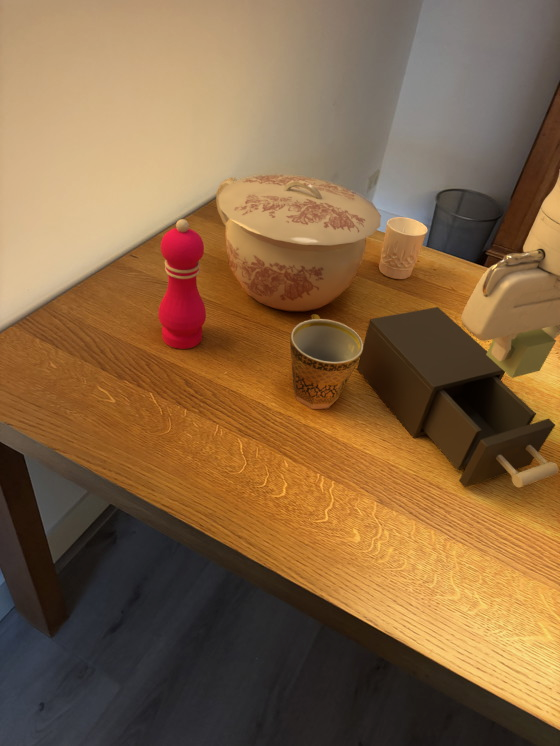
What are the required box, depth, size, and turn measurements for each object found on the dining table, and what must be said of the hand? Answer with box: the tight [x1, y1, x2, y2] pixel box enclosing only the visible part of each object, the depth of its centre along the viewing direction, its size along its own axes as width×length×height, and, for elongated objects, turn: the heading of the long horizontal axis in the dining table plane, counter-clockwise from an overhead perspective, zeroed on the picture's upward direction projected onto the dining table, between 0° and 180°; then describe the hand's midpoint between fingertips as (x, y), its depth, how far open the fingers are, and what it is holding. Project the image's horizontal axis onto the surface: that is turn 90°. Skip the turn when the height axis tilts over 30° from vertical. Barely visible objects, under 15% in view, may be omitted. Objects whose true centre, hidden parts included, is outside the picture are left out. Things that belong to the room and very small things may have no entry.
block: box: [486, 329, 557, 379], centre depth 64 cm, size 4×4×4 cm
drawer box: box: [356, 306, 506, 439], centre depth 80 cm, size 16×13×10 cm
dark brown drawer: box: [422, 376, 559, 488], centre depth 72 cm, size 19×11×8 cm, turn 25°
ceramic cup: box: [289, 313, 364, 410], centre depth 78 cm, size 13×10×10 cm
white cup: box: [378, 216, 428, 280], centre depth 109 cm, size 8×8×10 cm
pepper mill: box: [158, 218, 207, 350], centre depth 80 cm, size 7×7×20 cm
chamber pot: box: [215, 172, 382, 312], centre depth 95 cm, size 28×28×21 cm
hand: (518, 352), depth 64 cm, fingers closed on block, 4 cm apart
